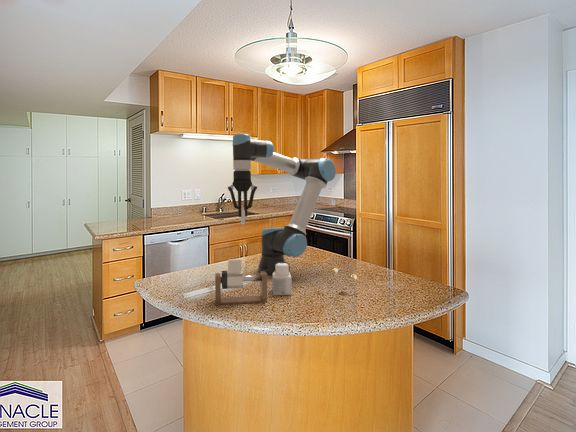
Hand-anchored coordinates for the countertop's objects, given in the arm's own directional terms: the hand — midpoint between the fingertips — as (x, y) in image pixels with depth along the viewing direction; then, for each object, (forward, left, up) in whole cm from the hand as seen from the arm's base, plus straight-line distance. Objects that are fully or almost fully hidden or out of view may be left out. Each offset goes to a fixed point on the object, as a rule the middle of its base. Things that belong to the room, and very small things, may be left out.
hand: (242, 224), depth 152 cm
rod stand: (+2, +18, -28) cm, 34 cm away
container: (-16, +10, -29) cm, 34 cm away
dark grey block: (+9, +18, -22) cm, 30 cm away
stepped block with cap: (+5, +18, -22) cm, 29 cm away
